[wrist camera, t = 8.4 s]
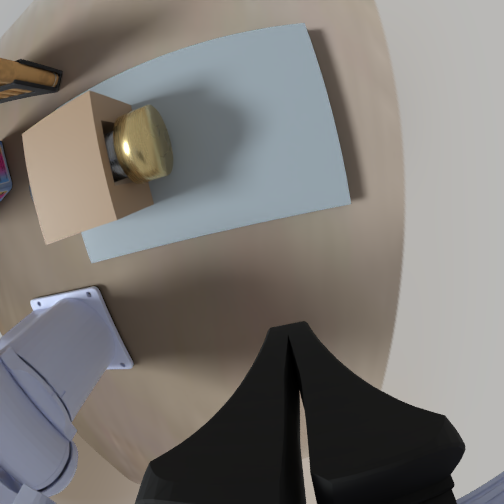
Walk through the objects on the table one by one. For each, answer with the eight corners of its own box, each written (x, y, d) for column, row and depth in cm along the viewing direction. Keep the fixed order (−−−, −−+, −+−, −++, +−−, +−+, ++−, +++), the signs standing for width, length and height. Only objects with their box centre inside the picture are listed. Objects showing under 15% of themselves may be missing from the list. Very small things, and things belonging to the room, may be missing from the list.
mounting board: (99, 257, 19) (51, 291, 13) (64, 110, 16) (9, 103, 10) (345, 201, 17) (382, 220, 12) (302, 30, 14) (316, -18, 8)
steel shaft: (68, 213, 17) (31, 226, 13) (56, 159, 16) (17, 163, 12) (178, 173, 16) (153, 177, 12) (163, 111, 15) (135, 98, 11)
